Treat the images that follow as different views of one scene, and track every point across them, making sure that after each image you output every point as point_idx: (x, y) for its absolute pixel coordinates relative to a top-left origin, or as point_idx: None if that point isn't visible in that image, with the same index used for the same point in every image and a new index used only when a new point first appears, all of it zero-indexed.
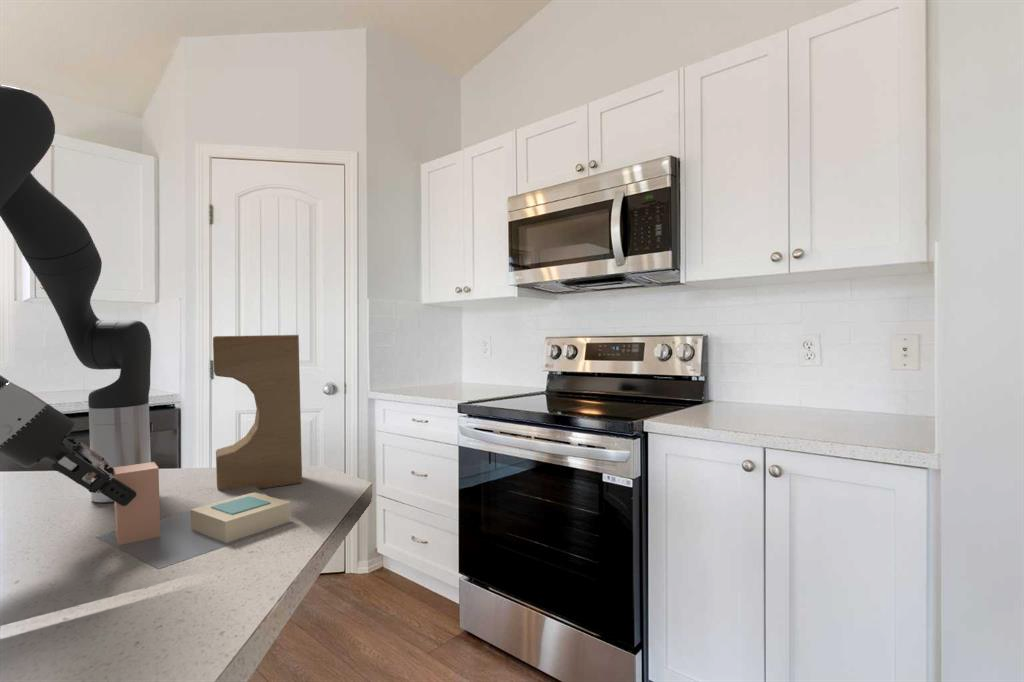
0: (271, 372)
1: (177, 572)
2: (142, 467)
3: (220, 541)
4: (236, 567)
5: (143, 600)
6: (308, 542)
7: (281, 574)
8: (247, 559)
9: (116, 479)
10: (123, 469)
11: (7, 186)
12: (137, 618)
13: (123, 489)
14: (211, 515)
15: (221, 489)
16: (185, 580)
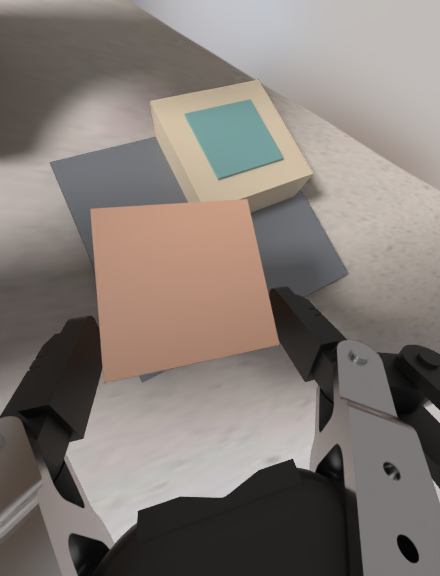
0: None
1: None
2: (200, 252)
3: (285, 201)
4: (347, 201)
5: (393, 288)
6: (308, 125)
7: (382, 169)
8: (329, 188)
9: (319, 335)
10: (193, 325)
11: None
12: (428, 291)
13: (319, 313)
14: (267, 185)
15: None
16: (360, 250)
